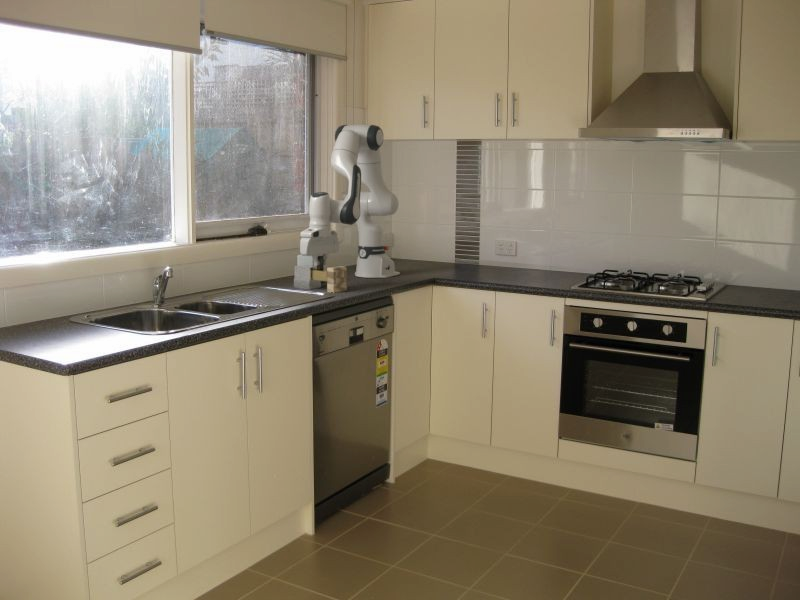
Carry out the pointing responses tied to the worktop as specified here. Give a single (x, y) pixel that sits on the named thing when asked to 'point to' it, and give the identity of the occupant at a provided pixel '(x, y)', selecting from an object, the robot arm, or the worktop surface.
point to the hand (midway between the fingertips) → (320, 265)
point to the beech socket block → (337, 279)
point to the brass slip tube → (319, 270)
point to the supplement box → (305, 260)
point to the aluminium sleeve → (305, 277)
